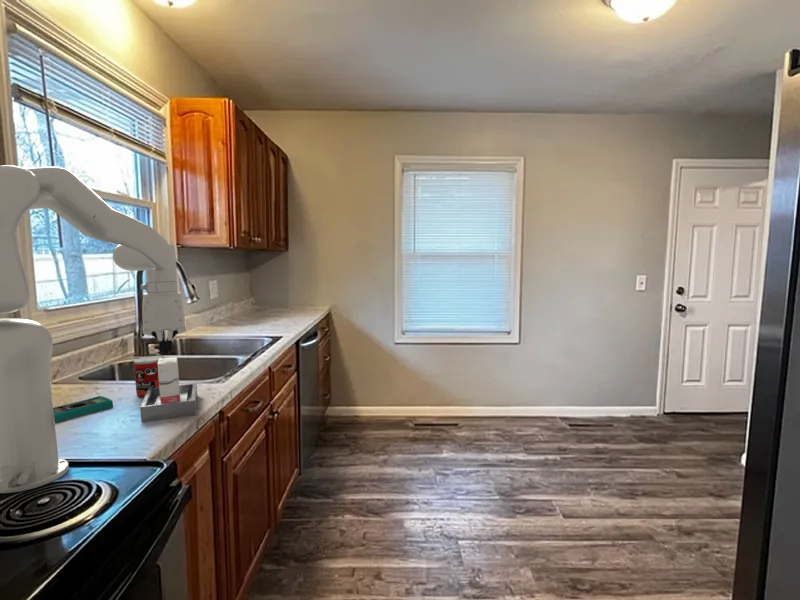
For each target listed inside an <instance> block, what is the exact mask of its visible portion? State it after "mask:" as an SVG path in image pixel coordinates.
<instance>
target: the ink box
mask: <svg viewBox="0 0 800 600" xmlns="http://www.w3.org/2000/svg"><path fill="white" fill-rule="evenodd" d="M157 364H158V377H159V389H160V400H161V404H164V403H172V402H180V389H179V385H180V377H179V375H180V374H179V365H178V364H179V363H178V357H177V356H175V357H174V356H172V357H162V358H159V360H158V363H157Z"/></svg>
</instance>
